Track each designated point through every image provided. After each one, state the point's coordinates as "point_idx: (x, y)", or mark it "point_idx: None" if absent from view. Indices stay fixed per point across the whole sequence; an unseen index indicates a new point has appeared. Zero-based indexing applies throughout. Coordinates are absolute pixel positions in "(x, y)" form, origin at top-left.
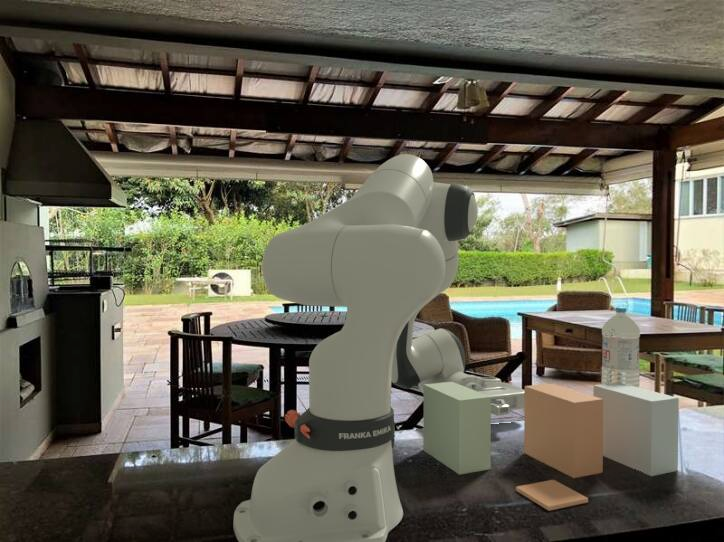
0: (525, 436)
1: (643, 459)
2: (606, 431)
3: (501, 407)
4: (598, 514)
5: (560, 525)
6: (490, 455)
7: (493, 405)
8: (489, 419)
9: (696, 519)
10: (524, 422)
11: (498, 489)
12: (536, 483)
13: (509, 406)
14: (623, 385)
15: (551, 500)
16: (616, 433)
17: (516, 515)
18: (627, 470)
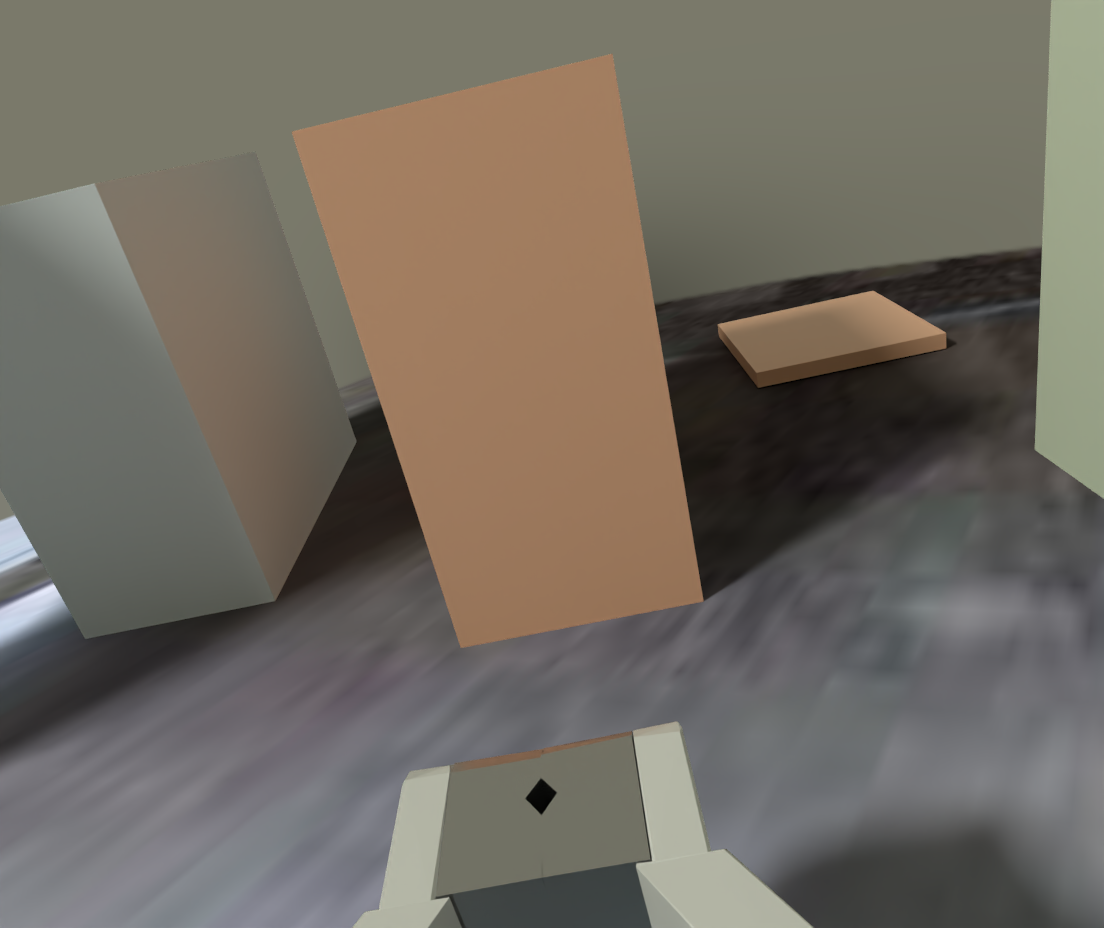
0: (681, 484)
1: (331, 407)
2: (252, 424)
3: (598, 740)
4: (734, 313)
5: (872, 280)
6: (1038, 372)
7: (704, 831)
8: (1057, 130)
9: None
10: (667, 389)
11: (1025, 348)
12: (845, 352)
13: (422, 770)
14: None
15: (846, 306)
16: (270, 391)
17: (991, 284)
18: (378, 465)
